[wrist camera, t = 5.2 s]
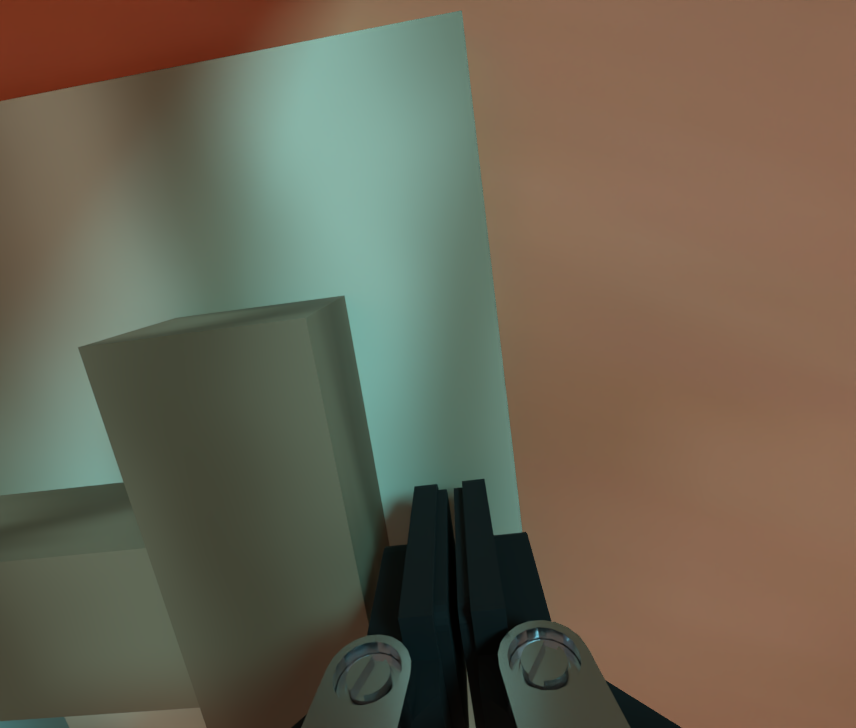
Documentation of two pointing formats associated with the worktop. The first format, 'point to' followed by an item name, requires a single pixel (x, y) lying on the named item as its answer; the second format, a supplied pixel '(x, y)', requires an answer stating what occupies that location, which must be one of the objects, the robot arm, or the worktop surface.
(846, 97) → the worktop surface
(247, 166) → the board
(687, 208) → the worktop surface
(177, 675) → the t block
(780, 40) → the worktop surface
